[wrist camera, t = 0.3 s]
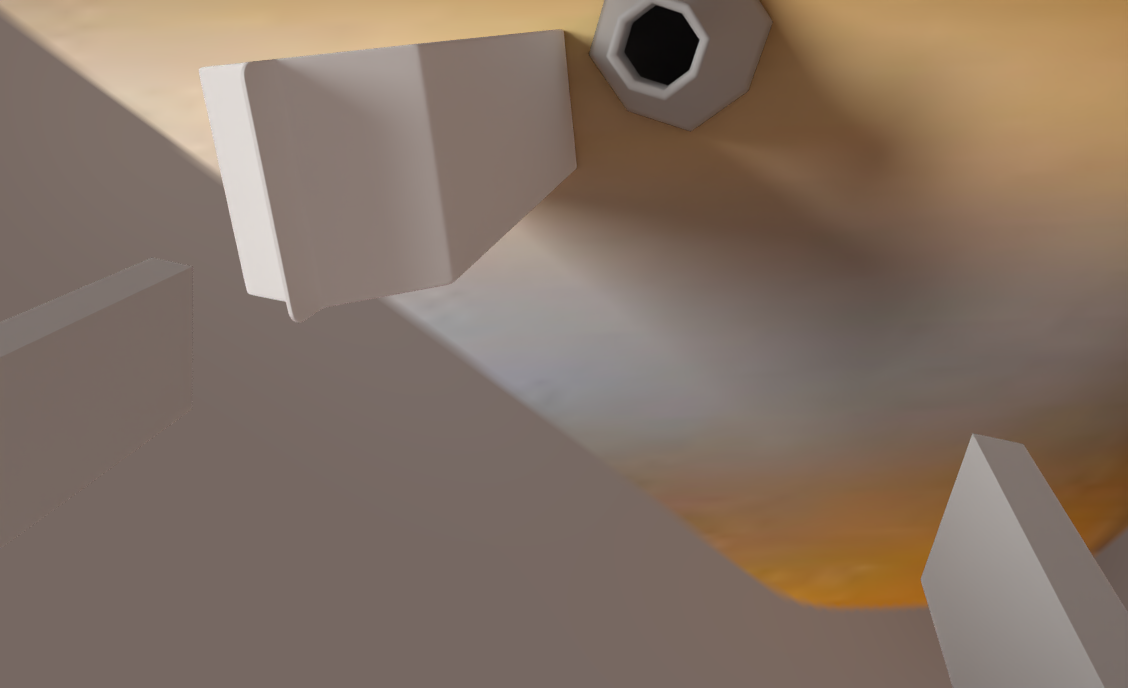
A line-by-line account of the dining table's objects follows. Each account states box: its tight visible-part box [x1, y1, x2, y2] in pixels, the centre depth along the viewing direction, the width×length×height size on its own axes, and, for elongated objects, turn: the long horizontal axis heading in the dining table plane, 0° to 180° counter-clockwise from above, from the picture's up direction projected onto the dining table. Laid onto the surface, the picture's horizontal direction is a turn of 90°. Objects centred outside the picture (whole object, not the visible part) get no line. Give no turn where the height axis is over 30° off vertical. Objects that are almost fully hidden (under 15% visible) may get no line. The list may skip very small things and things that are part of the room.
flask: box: [589, 0, 773, 131], centre depth 34 cm, size 7×7×10 cm
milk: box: [199, 29, 577, 322], centre depth 31 cm, size 6×6×22 cm
